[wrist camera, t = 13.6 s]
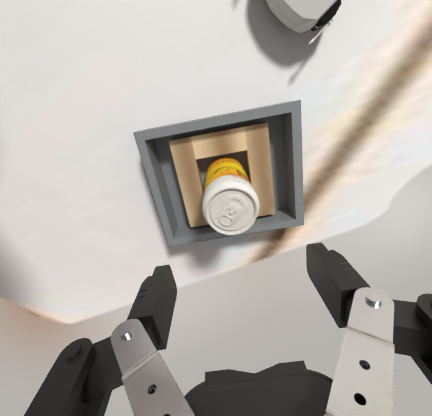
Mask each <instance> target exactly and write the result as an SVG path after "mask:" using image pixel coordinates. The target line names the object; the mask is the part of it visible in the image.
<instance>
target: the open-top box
mask: <svg viewBox="0 0 432 416" xmlns="http://www.w3.org/2000/svg"><path fill="white" fill-rule="evenodd" d="M258 122H268V131H269V144H270V156H271V168H272V180H273V193H274V205H275V214H270V215H264V216H258V217H257V218H256V220H255V222H254V224H253V225H252V226H251V227H250V228H249V229H248V230H246V231H245V232H243V233H240V234H236V235H225V234H222V233H219V232H217V231H216V230H214V229H213V228H212V227H211V226H210V225H202V226H196V227H190V223H189V219H188V215H187V211H186V207H185V204H184V200H183V196H182V192H181V188H180V184H179V180H178V176H177V172H176V168H175V164H174V160H173V156H172V153H171V149H170V145H169V141H170V140H171V139H174V138H179V137H185V136H190V135H195V134H200V133H206V132H211V131H216V130H221V129H227V128H232V127H237V126H242V125H248V124H253V123H258ZM133 134H134V137H135V140H136V143H137V146H138V150H139V153H140V156H141V159H142V162H143V166H144V169H145V172H146V175H147V179H148V182H149V185H150V188H151V191H152V195H153V198H154V201H155V204H156V207H157V211H158V214H159V217H160V220H161V223H162V227H163V230H164V233H165V236H166V240H167V243H168V246H173V245H179V244H186V243H192V242H198V241H205V240H211V239H217V238H224V237H230V236H237V235H243V234H249V233H256V232H262V231H268V230H275V229H281V228H287V227H294V226H300V225H304V208H303V169H302V130H301V100H298V101H291V102H285V103H280V104H275V105H269V106H264V107H259V108H254V109H249V110H244V111H239V112H233V113H228V114H223V115H218V116H213V117H208V118H203V119H198V120H192V121H187V122H182V123H177V124H172V125H167V126H162V127H156V128H151V129H146V130H142V131H138V132H134V133H133ZM220 157H231V158H234V159H236V160H237V161H238V162H239V163H240V164H241V165H242V167H243V169H244V171H245V173H246V175H247V177H248V169H247V161H246V153H245V151H239V152H234V153H229V154H223V155H218V156H212V157H207V158H201V159H198V162H199V167H200V172H201V177H202V181H203V186H204V189H205V181H206V173H207V169H208V167H209V165H210V164H211V163H212V162H213V161H214V160H215V159H217V158H220ZM248 179H249V177H248Z"/></svg>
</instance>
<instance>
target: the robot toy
mask: <svg viewBox="0 0 432 416" xmlns="http://www.w3.org/2000/svg"><path fill="white" fill-rule="evenodd" d="M266 2H267V4H268V6H269V8H270V10H271V12H272V13H273V14H274V15H275V16H276V17H277V18H278V19H279V20H280V21H281V22H282V23H283V24H284V25H285V26H287V27H288V28H289V29H291V30H293V31H295V32H299V33H302V32H305V31H307V30H312V31H315V30H317V29H320V28H322V27H323V26H324V25H325V26H324V27H323V28H322V30H321V31H320V32H319V33H318V34H317V35H316V36H315V37H314V38H313V39H312V40H311V41H310V42H309V44H311V43H312V42H313V41H314V40H315V39H316V38H317V36H318V35H319V34H320V33H321V32H322V31H323V30H324V29H325V28H326V27H327V26H329V25H330V24H331V23H332V22H333V21H334V20H333V19H332V17H333V16H334V15H335V14H336V12H337V10H338V9H339V7H340V5H341V0H266Z"/></svg>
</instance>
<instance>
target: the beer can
mask: <svg viewBox="0 0 432 416" xmlns="http://www.w3.org/2000/svg"><path fill="white" fill-rule="evenodd" d="M259 208H260V204H259V199H258V196H257V194H256V192H255V190H254V188H253V186H252V185H251V183H250V181H249V179H248V177H247V175H246V173H245V171H244V169H243V167H242V165H241V164H240V163H239V162H238V161H237V160H236V159H234V158H231V157H220V158H217V159H215V160H214V161H213V162H212V163H211V164H210V165H209V167H208V169H207V173H206V181H205V189H204V197H203V205H202V210H203V215H204V218H205V220H206V221H207V223H208V224H209V225H210V226H211V227H212V228H213V229H214V230H216V231H217V232H219V233H222V234H225V235H236V234H240V233H243V232H245V231H246V230H248V229H249V228H250V227H251V226H252V225H253V224H254V222H255V220H256V218H257V216H258V213H259Z"/></svg>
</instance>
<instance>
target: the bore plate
mask: <svg viewBox="0 0 432 416" xmlns="http://www.w3.org/2000/svg"><path fill="white" fill-rule="evenodd" d="M169 145H170V149H171V153H172V156H173V160H174V164H175V168H176V172H177V176H178V180H179V184H180V188H181V192H182V196H183V200H184V204H185V207H186V211H187V215H188V219H189V223H190V227H196V226H202V225H209V224H208V223H207V221H206V220H205V218H204V215H203V210H202V205H203V197H204V186H203V181H202V177H201V172H200V167H199V162H198V159H201V158H207V157H212V156H218V155H223V154H229V153H234V152H239V151H245V153H246V161H247V169H248V177H249V181H250V183H251V185H252V186H253V188H254V190H255V192H256V194H257V196H258V199H259V204H260V208H259V213H258V216H264V215H270V214H275V205H274V193H273V180H272V168H271V156H270V144H269V131H268V122H258V123H253V124H248V125H242V126H237V127H232V128H227V129H221V130H216V131H211V132H206V133H200V134H195V135H190V136H185V137H179V138H174V139H171V140H170V141H169ZM258 216H257V217H258Z"/></svg>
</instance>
